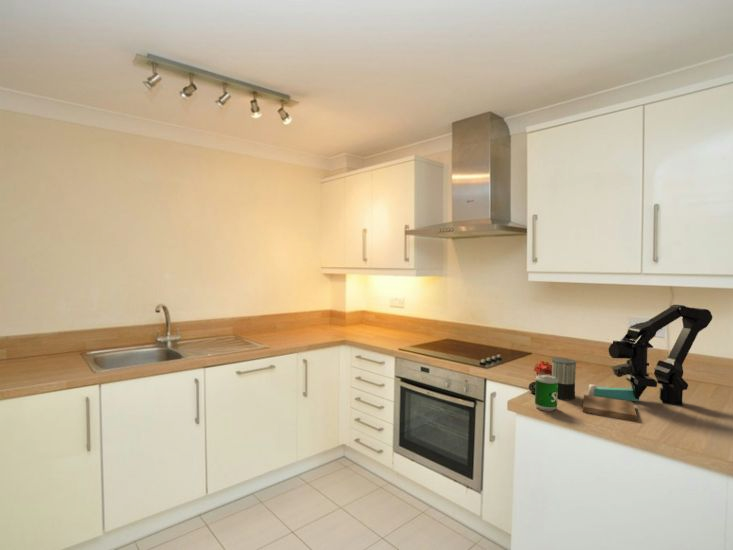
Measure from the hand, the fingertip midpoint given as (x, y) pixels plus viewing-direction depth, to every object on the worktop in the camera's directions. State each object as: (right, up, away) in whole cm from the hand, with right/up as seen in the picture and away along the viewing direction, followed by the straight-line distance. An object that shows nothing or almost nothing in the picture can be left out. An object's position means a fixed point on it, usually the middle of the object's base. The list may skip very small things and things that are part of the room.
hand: (636, 398), depth 154 cm
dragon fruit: (-21, -1, +33) cm, 39 cm away
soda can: (-39, -1, -7) cm, 39 cm away
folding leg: (-7, -1, +4) cm, 8 cm away
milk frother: (-29, -1, +8) cm, 30 cm away
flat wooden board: (-16, -2, -8) cm, 18 cm away
